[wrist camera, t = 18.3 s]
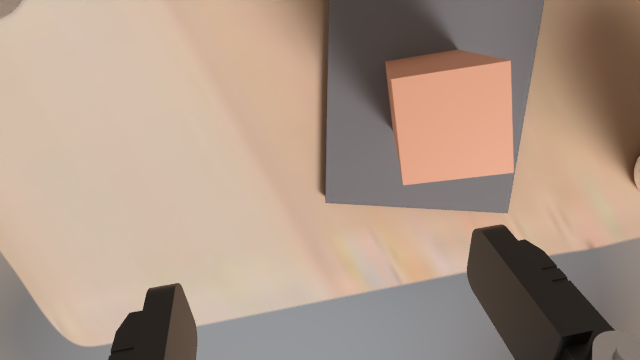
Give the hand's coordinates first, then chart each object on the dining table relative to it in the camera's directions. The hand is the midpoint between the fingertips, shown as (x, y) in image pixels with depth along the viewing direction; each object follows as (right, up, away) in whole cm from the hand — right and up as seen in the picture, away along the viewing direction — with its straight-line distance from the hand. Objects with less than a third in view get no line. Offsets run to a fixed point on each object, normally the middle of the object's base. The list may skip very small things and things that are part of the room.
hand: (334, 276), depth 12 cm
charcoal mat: (+7, +9, +20) cm, 23 cm away
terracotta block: (+7, +9, +19) cm, 22 cm away
